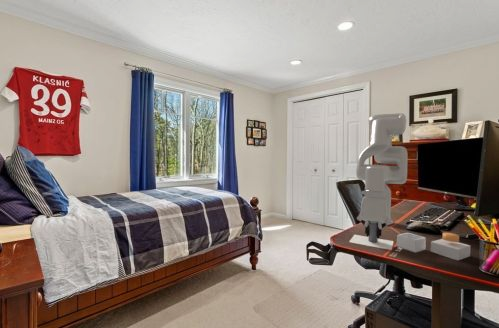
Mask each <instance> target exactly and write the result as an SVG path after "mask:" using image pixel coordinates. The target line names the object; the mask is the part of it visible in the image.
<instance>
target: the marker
mask: <svg viewBox="0 0 499 328" xmlns="http://www.w3.org/2000/svg"><path fill="white" fill-rule="evenodd" d="M368 225H369V236H367V237H368V241H369V242H372V243H377V242H378V239H379V238H377V229H378V227H379V226H378V222H372V221H369V224H368Z"/></svg>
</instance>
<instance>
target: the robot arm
mask: <svg viewBox="0 0 499 328" xmlns="http://www.w3.org/2000/svg"><path fill="white" fill-rule="evenodd" d="M368 125H369V129H370V137H369V138H370V139H369V144H368V146H367V147H365V148H364V149H363V150H362V151H361V153H360V154H359V155H358V158H357V164H356V170H355V171H356V172H355V173H356V177H357V179H358V180H359V181H364V190H361V191H360V192H361V193H360V194H362V195H363V197H362V198H361V203H360V204H361V205H360V213H359V214H358V215H357V216H356V220H357V221H359V222H360V223H361V224H363V226H364V227H365V228H364V234H366V237H369V221H372V222H378V229H377V238H378V239H380V237H382V231H383V230H382V229H384V227H387V226H389V225H393V224H394V220H392V219H391V209H392V205H391V204H392V201H391V200H392V191H391V188H390V187H389V185H388V184H393V185H394V184H395V185H396V184H397V185H398V184H399V185H402V184H406V182H407V180H408V157H409V156H408V150H407V148H406V146H405V147H404V146H401V145H400V146H398V145H395V146H393V144H392V143H393V142H392V141H393V138H392V135H393V136H395V135H398V136H399V135H403V134H404V133H405V130H406V127H407V116H406V114H405V113H397V112H396V113H383V114H382V113H381V114H374V115H370V117H369V118H368ZM372 156H374V157H373V158H374V161H375V162H376V163H378V164H370V163H369V164H365V162H366V160H367V159H369V158H371V157H372ZM384 164H385V165H384ZM387 164H388V165H387ZM389 164H391V165H392V166H391V165H389ZM394 164H395V165H397V166H395V165H394ZM393 165H394V166H393Z"/></svg>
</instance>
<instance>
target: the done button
mask: <svg viewBox="0 0 499 328" xmlns="http://www.w3.org/2000/svg"><path fill="white" fill-rule="evenodd" d="M441 239H444V240H446V241H450V242H459V243H460V235H459V234H456V233H452V232H442V237H441Z"/></svg>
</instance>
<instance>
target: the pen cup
mask: <svg viewBox="0 0 499 328" xmlns="http://www.w3.org/2000/svg"><path fill="white" fill-rule="evenodd" d="M426 241H427V237H424V236H421V235H418V234H414V233H410V232H405V233H401V234H397V235H396V247H397V248H398V249H399V248H400V249H403V250H405V251H408V252H411V253H415V254H416V253H418V252H422V251H425V250H427V249H426V245H427V244H426V243H427V242H426Z"/></svg>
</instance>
